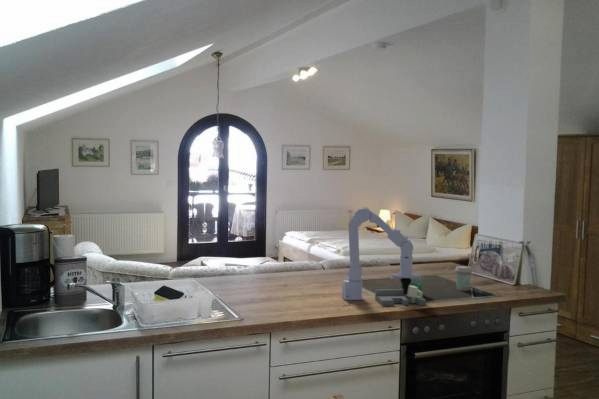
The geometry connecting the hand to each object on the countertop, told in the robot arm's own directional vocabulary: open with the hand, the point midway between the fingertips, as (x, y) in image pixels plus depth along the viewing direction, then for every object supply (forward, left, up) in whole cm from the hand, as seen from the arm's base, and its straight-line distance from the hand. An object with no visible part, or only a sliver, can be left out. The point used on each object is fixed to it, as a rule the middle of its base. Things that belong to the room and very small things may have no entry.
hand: (405, 293), depth 266 cm
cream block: (+3, 0, -1) cm, 3 cm away
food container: (+8, +11, -4) cm, 14 cm away
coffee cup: (+39, +22, -4) cm, 45 cm away
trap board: (-3, -2, -3) cm, 5 cm away
